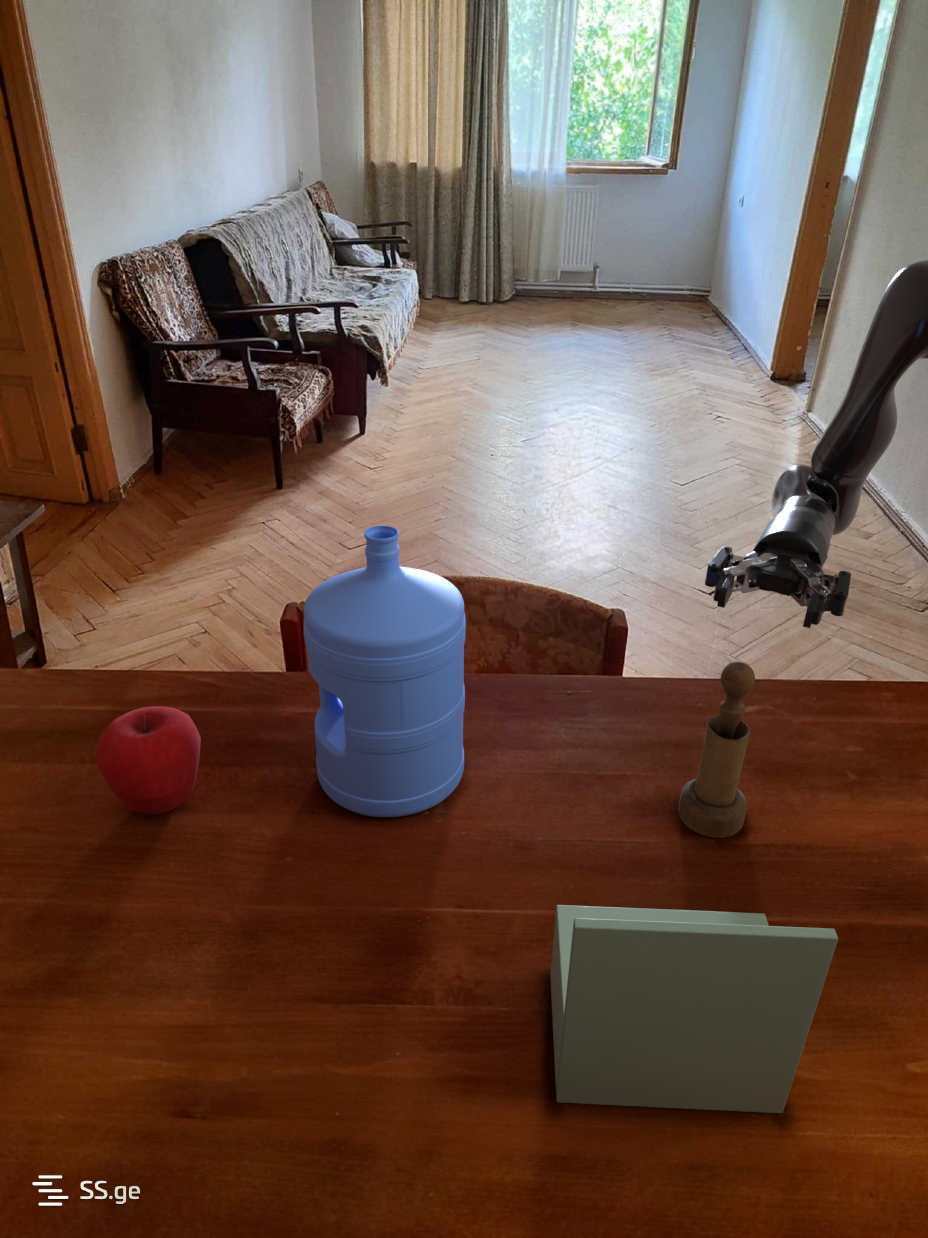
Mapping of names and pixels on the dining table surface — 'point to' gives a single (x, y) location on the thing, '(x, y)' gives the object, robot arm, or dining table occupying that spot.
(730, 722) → the mortar and pestle
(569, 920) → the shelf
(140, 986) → the dining table surface
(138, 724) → the apple
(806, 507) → the robot arm
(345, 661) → the water jug
